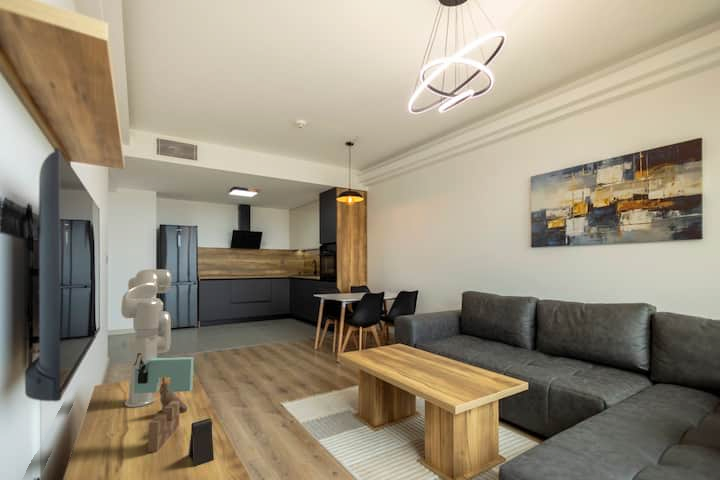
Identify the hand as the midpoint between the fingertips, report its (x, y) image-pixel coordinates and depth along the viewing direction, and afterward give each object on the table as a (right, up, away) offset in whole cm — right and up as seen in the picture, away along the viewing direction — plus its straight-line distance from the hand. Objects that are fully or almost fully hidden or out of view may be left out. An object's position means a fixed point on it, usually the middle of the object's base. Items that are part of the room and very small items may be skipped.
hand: (145, 381), depth 131 cm
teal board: (+7, -4, +1) cm, 8 cm away
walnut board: (+8, -21, 0) cm, 23 cm away
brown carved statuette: (-1, -23, +21) cm, 32 cm away
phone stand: (+28, -21, -14) cm, 37 cm away
